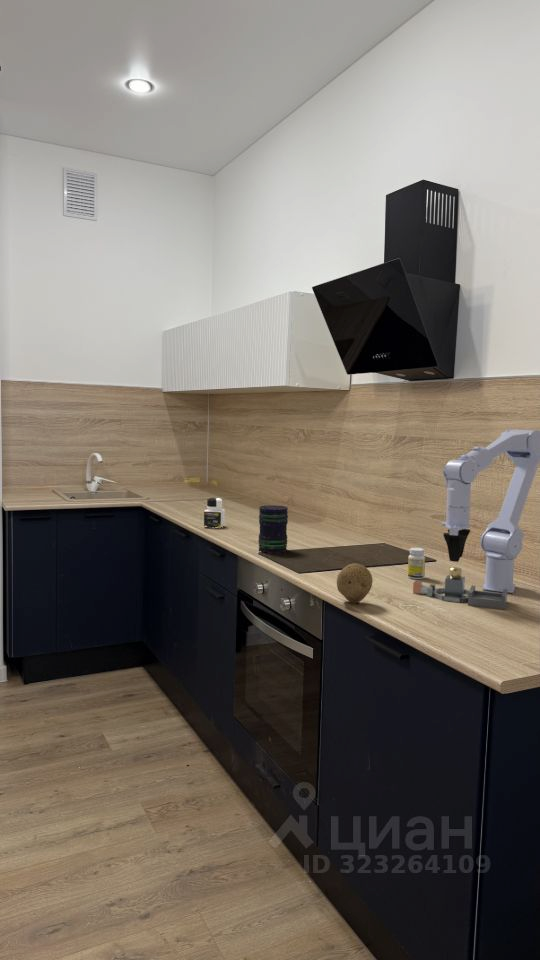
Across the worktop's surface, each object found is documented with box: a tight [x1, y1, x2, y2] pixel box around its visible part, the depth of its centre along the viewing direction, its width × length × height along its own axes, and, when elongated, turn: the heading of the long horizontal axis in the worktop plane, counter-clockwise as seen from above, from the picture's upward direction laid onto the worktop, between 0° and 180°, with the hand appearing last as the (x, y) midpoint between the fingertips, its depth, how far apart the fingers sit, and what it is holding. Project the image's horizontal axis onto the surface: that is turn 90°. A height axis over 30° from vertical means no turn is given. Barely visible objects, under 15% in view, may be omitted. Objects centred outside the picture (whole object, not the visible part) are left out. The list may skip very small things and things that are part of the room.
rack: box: [467, 585, 508, 610], centre depth 173 cm, size 8×9×3 cm
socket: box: [426, 583, 470, 603], centre depth 179 cm, size 11×12×2 cm
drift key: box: [412, 580, 432, 595], centre depth 182 cm, size 3×4×3 cm, turn 68°
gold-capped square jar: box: [444, 566, 466, 598], centre depth 179 cm, size 4×4×8 cm
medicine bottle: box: [203, 497, 226, 529], centre depth 282 cm, size 7×7×12 cm
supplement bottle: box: [407, 547, 426, 580], centre depth 199 cm, size 5×5×8 cm
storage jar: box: [258, 505, 289, 554], centre depth 235 cm, size 10×10×15 cm
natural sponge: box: [336, 563, 374, 604], centre depth 170 cm, size 9×9×10 cm
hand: (455, 558), depth 178 cm, fingers open, 6 cm apart
